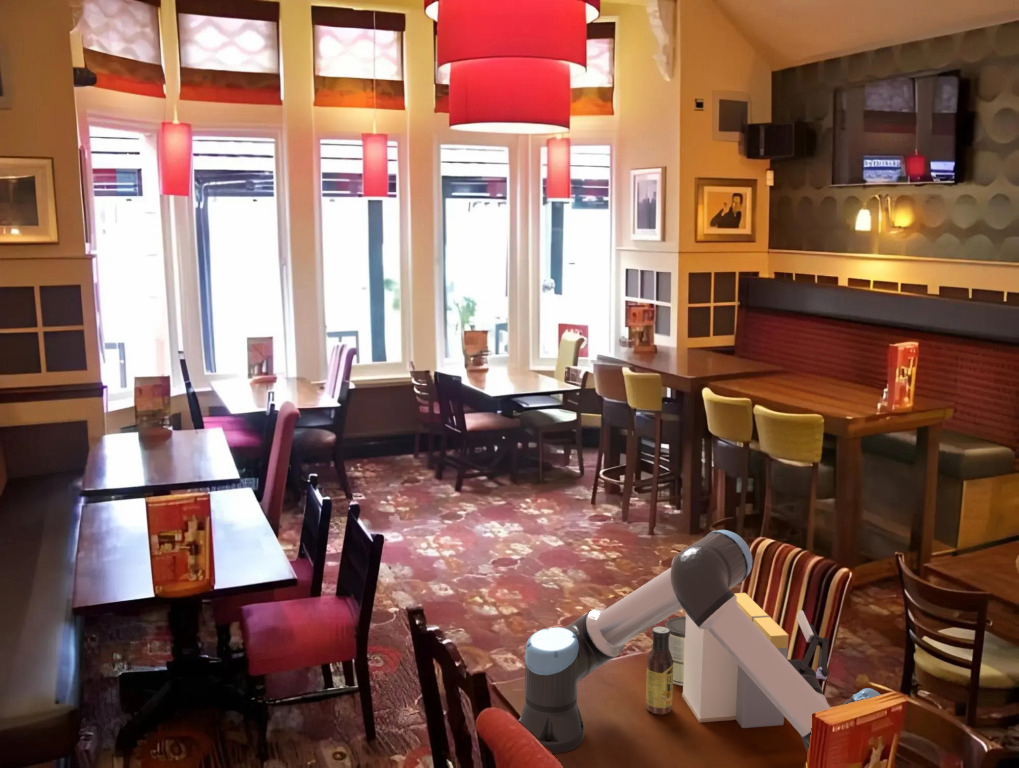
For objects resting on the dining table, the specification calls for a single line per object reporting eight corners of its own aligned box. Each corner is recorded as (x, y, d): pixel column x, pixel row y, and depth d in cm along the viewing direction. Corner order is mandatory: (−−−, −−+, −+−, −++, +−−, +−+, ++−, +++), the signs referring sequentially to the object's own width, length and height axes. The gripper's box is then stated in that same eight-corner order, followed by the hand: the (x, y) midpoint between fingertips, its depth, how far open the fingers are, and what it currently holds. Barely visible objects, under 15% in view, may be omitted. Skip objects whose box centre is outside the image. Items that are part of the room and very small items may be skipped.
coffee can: (675, 663, 243) (677, 613, 240) (711, 675, 236) (713, 623, 234) (656, 678, 235) (657, 626, 232) (692, 690, 228) (695, 637, 226)
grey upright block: (783, 724, 213) (788, 635, 209) (742, 728, 211) (746, 637, 208) (762, 699, 224) (766, 613, 221) (722, 701, 223) (726, 616, 219)
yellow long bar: (787, 647, 203) (788, 634, 202) (770, 648, 202) (770, 635, 202) (744, 604, 226) (745, 592, 226) (729, 605, 226) (729, 593, 225)
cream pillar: (738, 719, 215) (743, 610, 211) (699, 722, 214) (703, 612, 209) (718, 693, 227) (723, 589, 223) (681, 696, 226) (685, 591, 221)
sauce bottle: (671, 717, 216) (674, 637, 213) (644, 714, 217) (647, 635, 214) (672, 703, 222) (675, 625, 219) (646, 700, 224) (648, 623, 220)
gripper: (744, 715, 191) (714, 629, 207) (856, 706, 195) (818, 622, 211) (753, 694, 186) (721, 608, 202) (868, 686, 190) (828, 602, 206)
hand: (770, 615), depth 207 cm, fingers open, 13 cm apart
